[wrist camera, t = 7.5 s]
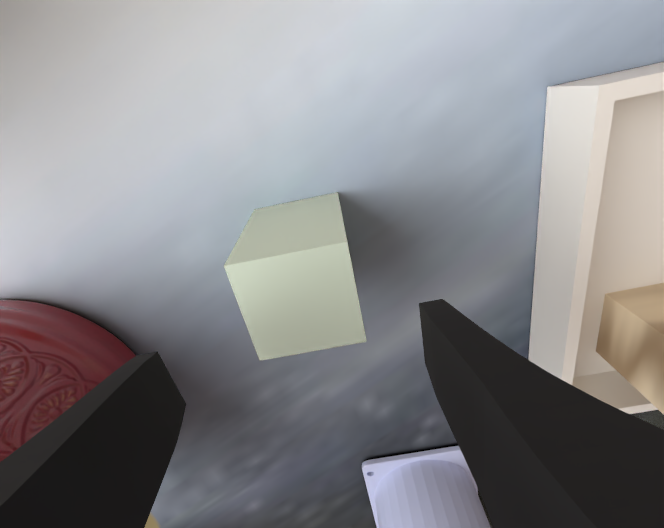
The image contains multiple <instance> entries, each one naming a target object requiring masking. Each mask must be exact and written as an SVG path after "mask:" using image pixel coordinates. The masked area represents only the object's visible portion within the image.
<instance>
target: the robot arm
mask: <svg viewBox="0 0 664 528" xmlns="http://www.w3.org/2000/svg"><path fill="white" fill-rule="evenodd" d="M419 308H420V318H421V328H422V337H423V347H424V357H425V364H426V367H427V370H428V373H429V376H430V379H431V382H432V385H433V388H434V391H435V394H436V397H437V399H438V402H439V404H440V406H441V408H442V410H443V413H444V415H445V417H446V419H447V421H448V424H449V426H450V428H451V430H452V432H453V434H454V437H455V439H456V441H457V443H458V446H452V447H446V448H440V449H433V450H427V451H421V452H415V453H408V454H402V455H396V456H390V457H384V458H377V459H371V460H366V461H364V462H363V463H362V471H363V475H364V479H365V483H366V487H367V490H368V494H369V498H370V502H371V506H372V510H373V514H374V518H375V522H376V526H377V528H491V527H490V524H489V522H488V519H487V516H486V514H485V511H484V509H483V506H482V504H481V501H480V499H479V496H478V489H479V492H480V494H481V497H482V499H483V501H484V504H485V507H486V509H487V512H488V515H489V518H490V520H491V523H492V526H493V528H664V430H663V429H660V428H658V427H656V426H654V425H652V424H650V423H647V422H645V421H643V420H641V419H639V418H636V417H634V416H632V415H630V414H628V413H625V412H623V411H621V410H619V409H617V408H615V407H613V406H611V405H609V404H607V403H605V402H603V401H601V400H599V399H597V398H595V397H593V396H591V395H589V394H588V393H586V392H584V391H582V390H580V389H578V388H576V387H574V386H572V385H571V384H569V383H567V382H565V381H563V380H561V379H559V378H558V377H556V376H554V375H552V374H551V373H549V372H547V371H545V370H544V369H542V368H541V367H539V366H537V365H536V364H534V363H532V362H531V361H529V360H528V359H526V358H524V357H523V356H521V355H520V354H518V353H516V352H515V351H513V350H512V349H510V348H509V347H507V346H506V345H505V344H503V343H502V342H500V341H499V340H497V339H496V338H494V337H493V336H492V335H490V334H489V333H487V332H486V331H484V330H483V329H482V328H480V327H479V326H478V325H476V324H475V323H474V322H472V321H471V320H470V319H468V318H467V317H466V316H464V315H463V314H462V313H460V312H459V311H458V310H456V309H455V308H454V307H453V306H451V305H450V304H449V303H447V302H446V301H444V300H443V299H439V300H434V301H429V302H423V303H419ZM185 406H186V403H185V402H184V400H183V398H182V396H181V394H180V392H179V390H178V389H177V387H176V385H175V383H174V381H173V379H172V378H171V376H170V374H169V372H168V370H167V368H166V367H165V365H164V363H163V361H162V359H161V357H160V356H159V354H158V352H153V353H147V354H142V355H137V356H135V357H134V358H132V359H131V360H129V361H128V362H126V363H125V364H124V365H122V366H121V367H120V368H118V369H117V370H116V371H114V372H113V373H112V374H111V375H109V376H108V377H107V378H106V379H104V380H103V381H102V382H101V383H99V384H98V385H97V386H96V387H95V388H93V389H92V390H91V391H90V392H88V393H87V394H86V395H85V396H84V397H82V398H81V399H80V400H79V401H77V402H76V403H75V404H74V405H72V406H71V407H70V408H69V409H68V410H66V411H65V412H64V413H63V414H61V415H60V416H59V417H58V418H57V419H55V420H54V421H53V422H52V423H50V424H49V425H48V426H46V427H45V428H44V429H43V430H41V431H40V432H39V433H37V434H36V435H35V436H34V437H32V438H31V439H30V440H28V441H27V442H26V443H25V444H23V445H22V446H21V447H19V448H18V449H17V450H16V451H14V452H13V453H12V454H10V455H9V456H8V457H7V458H5V459H4V460H2V461H1V462H0V528H144V527H145V524H146V522H147V519H148V516H149V514H150V511H151V509H152V506H153V504H154V501H155V498H156V496H157V493H158V491H159V488H160V486H161V483H162V480H163V478H164V475H165V473H166V470H167V467H168V465H169V462H170V459H171V457H172V454H173V451H174V449H175V446H176V443H177V440H178V436H179V432H180V428H181V424H182V420H183V415H184V411H185Z"/></svg>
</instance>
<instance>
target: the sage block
mask: <svg viewBox="0 0 664 528" xmlns="http://www.w3.org/2000/svg"><path fill="white" fill-rule="evenodd" d="M224 268H225V271H226V273H227V276H228V279H229V281H230V284H231V287H232V289H233V292H234V294H235V297H236V300H237V302H238V305H239V308H240V310H241V313H242V316H243V318H244V321H245V323H246V326H247V329H248V331H249V334H250V337H251V339H252V342H253V345H254V347H255V350H256V352H257V355H258V358H259V360H260V361H262V360H267V359H273V358H279V357H284V356H290V355H295V354H301V353H306V352H312V351H317V350H323V349H328V348H334V347H340V346H345V345H351V344H356V343H362V342H367V341H366V336H365V330H364V325H363V320H362V315H361V310H360V305H359V299H358V294H357V289H356V284H355V279H354V274H353V268H352V263H351V258H350V253H349V248H348V243H347V237H346V232H345V227H344V222H343V217H342V212H341V206H340V201H339V196H338V192H336V193H331V194H326V195H321V196H316V197H312V198H307V199H302V200H297V201H292V202H287V203H282V204H278V205H273V206H268V207H263V208H258V209H254V211H253V213H252V215H251V217H250V219H249V220H248V222H247V224H246V226H245V228H244V230H243V231H242V233H241V235H240V237H239V239H238V241H237V243H236V244H235V246H234V248H233V250H232V252H231V254H230V255H229V257H228V259H227V261H226V263H225V265H224Z"/></svg>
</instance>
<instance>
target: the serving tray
mask: <svg viewBox="0 0 664 528" xmlns="http://www.w3.org/2000/svg"><path fill="white" fill-rule="evenodd" d="M660 283H664V62H660V63H656V64H651V65H646V66H642V67H637V68H632V69H628V70H623V71H618V72H614V73H609V74H604V75H600V76H595V77H591V78H586V79H581V80H577V81H572V82H567V83H563V84H558V85H553V86H549V87H547V100H546V115H545V129H544V143H543V158H542V172H541V186H540V200H539V215H538V229H537V243H536V257H535V272H534V286H533V300H532V315H531V329H530V343H529V357H528V360H529V361H531V362H532V363H534V364H536V365H537V366H539V367H541V368H542V369H544V370H545V371H547V372H549V373H551V374H552V375H554V376H556V377H558V378H559V379H561V380H563V381H565V382H567V383H569V384H571V385H572V386H574V387H576V388H578V389H580V390H582V391H584V392H586V393H588V394H589V395H591V396H593V397H595V398H597V399H599V400H601V401H603V402H605V403H607V404H609V405H611V406H613V407H615V408H617V409H619V410H621V411H623V412H625V413H628V414H634V413H640V412H646V411H652V410H658V409H657V408H656V407H655V406H654V405H653V404H652V403H651V402H650V401H649V400H647V399H646V398H645V397H644V396H643V395H642V394H641V393H640V392H639V391H638V390H637V389H636V388H635V387H634V386H632V385H631V384H630V383H629V382H628V381H627V380H626V379H625V378H624V377H623V376H622V375H621V374H620V373H619V372H617V371H616V370H615V369H614V368H613V367H612V366H611V365H610V364H609V363H608V362H607V361H606V360H605V359H604V358H602V357H601V356H600V355H599V354H598V353H597V352H596V346H597V340H598V334H599V328H600V322H601V316H602V310H603V304H604V298H605V294H607V293H612V292H617V291H622V290H628V289H633V288H638V287H644V286H649V285H654V284H660Z"/></svg>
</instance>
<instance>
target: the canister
mask: <svg viewBox="0 0 664 528" xmlns="http://www.w3.org/2000/svg"><path fill="white" fill-rule="evenodd" d="M135 356H136V355H135V354H134V353H133V352H132V351H131V350H130V349H129V348H128V347H127V346H126V345H125V344H124V343H123V342H122V341H120V340H119V339H118V338H117V337H115V336H114V335H113V334H111V333H110V332H108V331H107V330H105V329H104V328H102V327H100V326H99V325H97V324H95V323H93V322H91V321H90V320H88V319H85V318H83V317H81V316H79V315H77V314H74V313H72V312H69V311H66V310H63V309H60V308H57V307H53V306H50V305H46V304H41V303H36V302H30V301H21V300H0V462H1V461H2V460H4V459H5V458H7V457H8V456H9V455H10V454H12V453H13V452H14V451H16V450H17V449H18V448H19V447H21V446H22V445H23V444H25V443H26V442H27V441H28V440H30V439H31V438H32V437H34V436H35V435H36V434H37V433H39V432H40V431H41V430H43V429H44V428H45V427H46V426H48V425H49V424H50V423H52V422H53V421H54V420H55V419H57V418H58V417H59V416H60V415H61V414H63V413H64V412H65V411H66V410H68V409H69V408H70V407H71V406H72V405H74V404H75V403H76V402H77V401H79V400H80V399H81V398H82V397H84V396H85V395H86V394H87V393H88V392H90V391H91V390H92V389H93V388H95V387H96V386H97V385H98V384H99V383H101V382H102V381H103V380H104V379H106V378H107V377H108V376H109V375H111V374H112V373H113V372H114V371H116V370H117V369H118V368H120V367H121V366H122V365H124V364H125V363H126V362H128V361H129V360H131V359H132V358H134V357H135Z"/></svg>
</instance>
